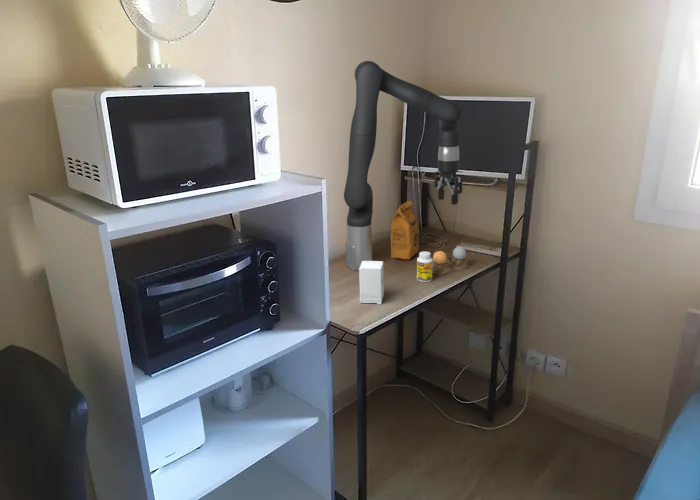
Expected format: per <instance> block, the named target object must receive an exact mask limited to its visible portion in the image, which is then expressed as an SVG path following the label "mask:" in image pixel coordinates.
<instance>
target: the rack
mask: <svg viewBox="0 0 700 500" xmlns="http://www.w3.org/2000/svg"><path fill="white" fill-rule="evenodd" d="M467 261H468V260H467V259H466V257H465V258H464V259H462V260H457V259H455V258H454V257H452V259H451V263H443V264H436V263H435V262H433V267H432V274H434V275H436V276H440V275H445V274H449V273H454V272H458V271H461V270H466V269H467V270H468V269H469V265H468V264H467Z"/></svg>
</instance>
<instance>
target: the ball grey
mask: <svg viewBox="0 0 700 500" xmlns="http://www.w3.org/2000/svg"><path fill="white" fill-rule="evenodd" d="M452 256H453V258H455V259H457V260H462V259H464V258H465V259H466V256H467V251H466V249H465V248H464V247H463V246H456V247H455V248H454V249H453V250H452Z"/></svg>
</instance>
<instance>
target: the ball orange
mask: <svg viewBox="0 0 700 500" xmlns="http://www.w3.org/2000/svg"><path fill="white" fill-rule="evenodd" d="M435 252H436V253H435ZM435 252H434V253H435V254H434V253H433V256H432V258H433V260H434V262H435V263H436V264H443V263H445V262H446V259H448V255H447V256H446V254H445V253H446V252H445V253H444V251H442V250H438V251H435Z"/></svg>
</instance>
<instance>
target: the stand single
mask: <svg viewBox="0 0 700 500" xmlns="http://www.w3.org/2000/svg"><path fill="white" fill-rule="evenodd" d="M436 252H437V251H435V252H433V255H434V254H435V253H436ZM443 252H444V251H443ZM444 253H445V254H446V256H447V257H448V253H447V252H444ZM431 258H432V259H433V257H431ZM433 262H434V260H433ZM445 263H447V264H450V259H448V258H447V259H446V262H445Z"/></svg>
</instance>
